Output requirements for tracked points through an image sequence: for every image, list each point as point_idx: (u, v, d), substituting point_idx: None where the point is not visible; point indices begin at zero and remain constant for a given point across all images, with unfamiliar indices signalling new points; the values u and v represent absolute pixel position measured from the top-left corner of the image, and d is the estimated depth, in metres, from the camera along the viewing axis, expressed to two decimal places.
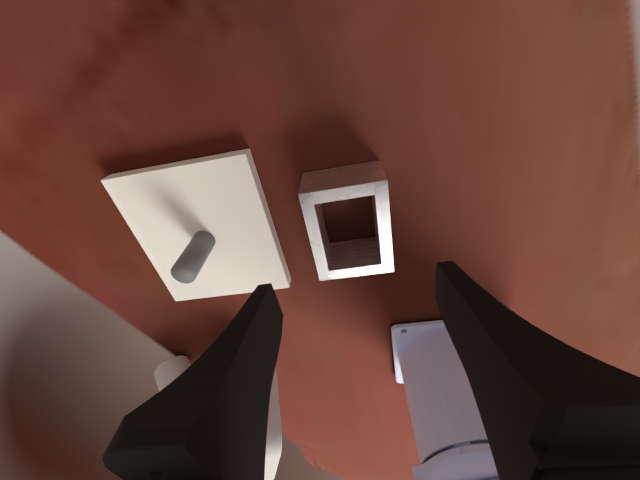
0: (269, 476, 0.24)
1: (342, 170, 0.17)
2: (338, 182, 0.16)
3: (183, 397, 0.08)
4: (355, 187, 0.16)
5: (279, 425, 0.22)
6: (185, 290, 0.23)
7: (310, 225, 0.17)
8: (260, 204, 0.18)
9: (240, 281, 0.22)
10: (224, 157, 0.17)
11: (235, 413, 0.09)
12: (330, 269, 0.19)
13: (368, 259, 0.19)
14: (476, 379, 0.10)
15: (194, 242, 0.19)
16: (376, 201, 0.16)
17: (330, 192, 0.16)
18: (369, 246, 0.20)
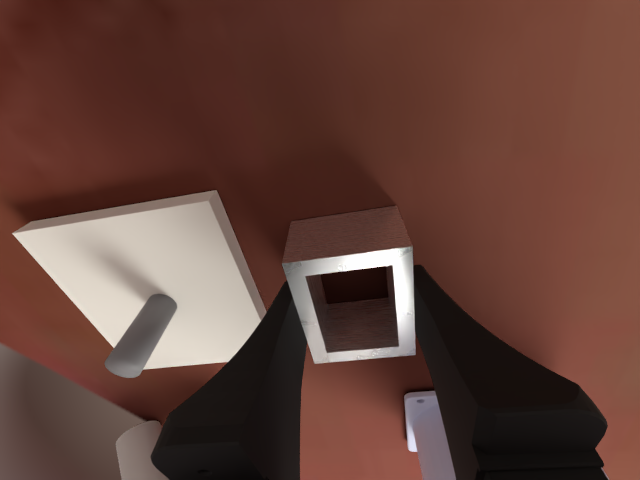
0: None
1: (345, 221, 0.13)
2: (339, 245, 0.11)
3: (226, 394, 0.08)
4: (364, 256, 0.11)
5: None
6: None
7: (300, 301, 0.12)
8: (233, 264, 0.14)
9: (214, 350, 0.17)
10: (179, 204, 0.12)
11: (275, 410, 0.09)
12: (329, 350, 0.14)
13: (380, 336, 0.14)
14: (437, 382, 0.10)
15: (144, 314, 0.14)
16: (395, 273, 0.11)
17: (328, 261, 0.11)
18: (380, 313, 0.15)
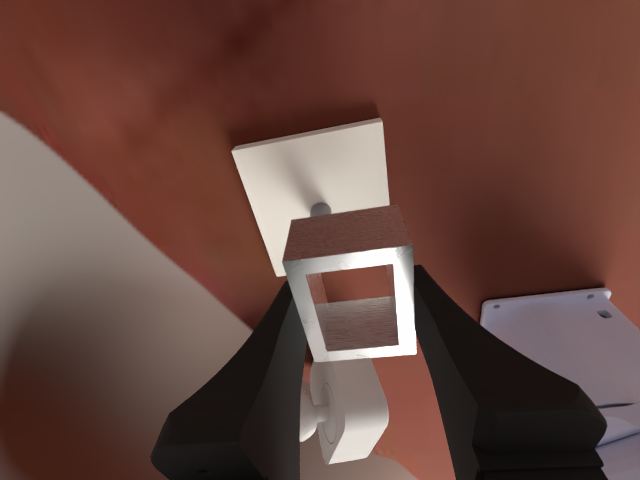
0: (367, 450, 0.24)
1: (345, 219, 0.13)
2: (340, 243, 0.11)
3: (226, 394, 0.08)
4: (365, 254, 0.11)
5: (384, 397, 0.23)
6: None
7: (300, 299, 0.12)
8: (385, 174, 0.19)
9: None
10: (359, 125, 0.17)
11: (275, 410, 0.09)
12: (329, 349, 0.14)
13: (380, 335, 0.14)
14: (437, 382, 0.10)
15: (319, 212, 0.19)
16: (395, 271, 0.11)
17: (328, 259, 0.11)
18: (381, 312, 0.15)
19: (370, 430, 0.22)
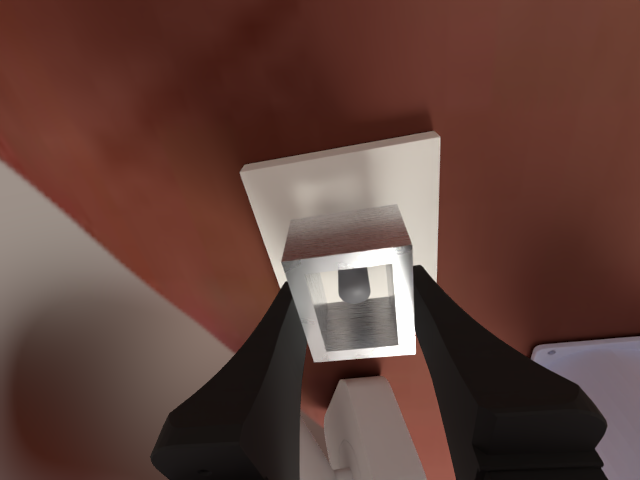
0: None
1: (345, 219, 0.13)
2: (339, 243, 0.11)
3: (226, 394, 0.08)
4: (364, 254, 0.11)
5: (421, 469, 0.19)
6: None
7: (300, 299, 0.12)
8: (436, 203, 0.15)
9: (378, 296, 0.18)
10: (409, 141, 0.13)
11: (275, 410, 0.09)
12: (328, 349, 0.14)
13: (380, 335, 0.14)
14: (437, 382, 0.10)
15: None
16: (394, 271, 0.11)
17: (328, 259, 0.11)
18: (380, 312, 0.15)
19: None
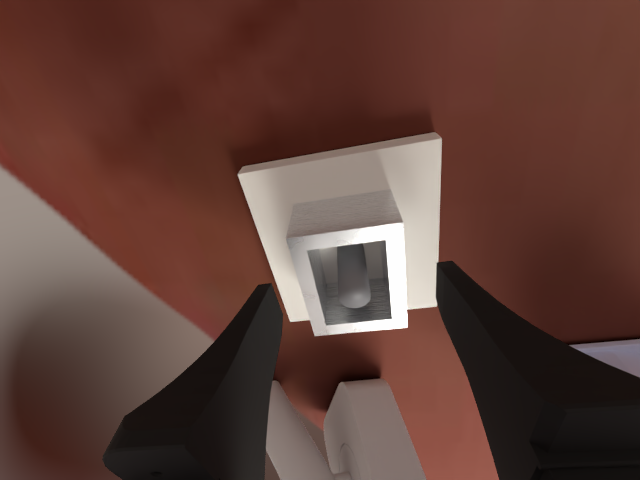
0: None
1: (343, 203, 0.14)
2: (338, 222, 0.12)
3: (183, 397, 0.08)
4: (360, 231, 0.12)
5: (422, 473, 0.18)
6: (305, 309, 0.19)
7: (302, 274, 0.13)
8: (437, 205, 0.14)
9: None
10: (410, 143, 0.13)
11: (235, 413, 0.09)
12: (328, 323, 0.15)
13: (375, 310, 0.15)
14: (476, 379, 0.10)
15: (352, 253, 0.15)
16: (387, 247, 0.12)
17: (328, 236, 0.12)
18: (376, 291, 0.16)
19: None
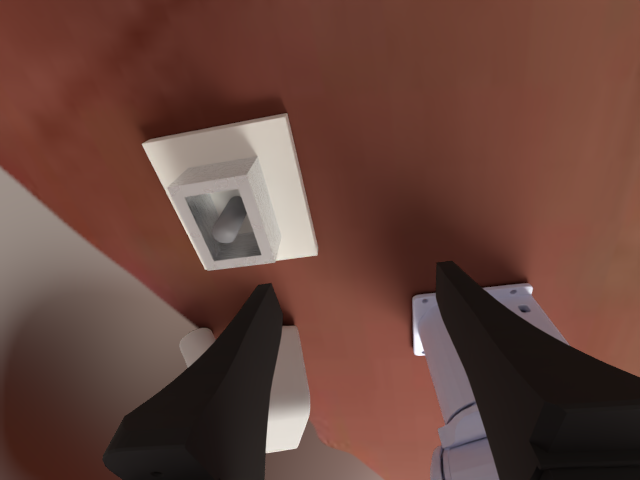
0: (295, 440, 0.25)
1: (220, 165, 0.18)
2: (206, 177, 0.17)
3: (183, 397, 0.08)
4: (218, 182, 0.17)
5: (307, 389, 0.23)
6: None
7: (185, 217, 0.18)
8: (295, 169, 0.19)
9: None
10: (264, 120, 0.18)
11: (235, 413, 0.09)
12: (216, 259, 0.20)
13: (252, 250, 0.20)
14: (476, 379, 0.10)
15: (231, 205, 0.19)
16: (241, 195, 0.17)
17: (196, 186, 0.17)
18: None
19: (291, 421, 0.23)
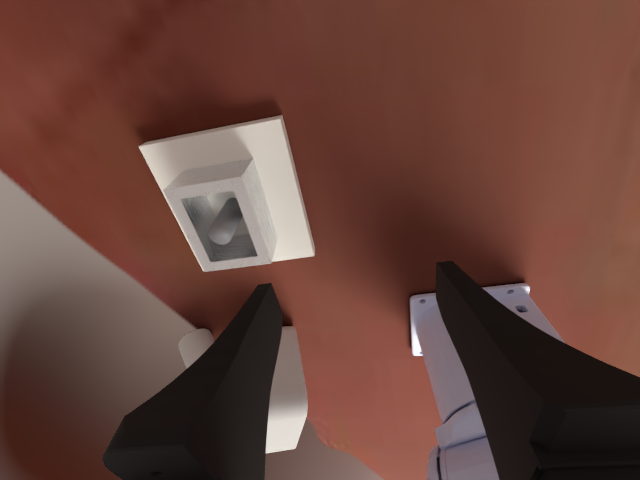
0: (293, 441, 0.25)
1: (216, 167, 0.19)
2: (202, 179, 0.17)
3: (182, 397, 0.08)
4: (214, 183, 0.17)
5: (304, 389, 0.23)
6: None
7: (182, 219, 0.18)
8: (291, 170, 0.19)
9: None
10: (259, 122, 0.18)
11: (235, 413, 0.09)
12: (212, 261, 0.20)
13: (249, 251, 0.20)
14: (476, 379, 0.10)
15: (227, 207, 0.19)
16: (236, 196, 0.17)
17: (192, 188, 0.17)
18: None
19: (289, 421, 0.23)
